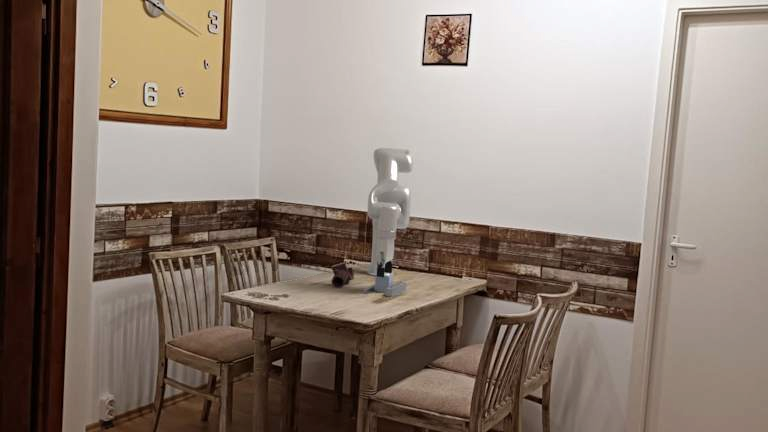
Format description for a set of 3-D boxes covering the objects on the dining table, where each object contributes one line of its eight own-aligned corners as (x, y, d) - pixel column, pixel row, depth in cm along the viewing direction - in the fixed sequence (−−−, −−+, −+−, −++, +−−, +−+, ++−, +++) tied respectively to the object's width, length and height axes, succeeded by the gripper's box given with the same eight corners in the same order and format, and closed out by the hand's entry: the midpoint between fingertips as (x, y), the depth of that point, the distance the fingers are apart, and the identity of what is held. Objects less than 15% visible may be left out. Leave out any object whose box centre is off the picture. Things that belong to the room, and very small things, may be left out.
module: (374, 291, 324) (375, 274, 323) (378, 289, 329) (379, 272, 328) (388, 293, 322) (389, 276, 322) (392, 291, 327) (393, 274, 326)
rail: (363, 293, 319) (363, 284, 318) (378, 286, 336) (378, 277, 335) (392, 296, 315) (392, 288, 314) (405, 289, 332) (406, 281, 331)
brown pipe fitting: (356, 275, 342) (348, 255, 340) (348, 290, 326) (340, 269, 324) (343, 279, 344) (335, 259, 341) (335, 294, 327) (327, 273, 325)
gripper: (385, 231, 333) (382, 270, 335) (371, 236, 316) (368, 277, 319) (402, 233, 330) (399, 272, 332) (388, 238, 314) (385, 279, 316)
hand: (384, 274), depth 326 cm, fingers open, 9 cm apart
